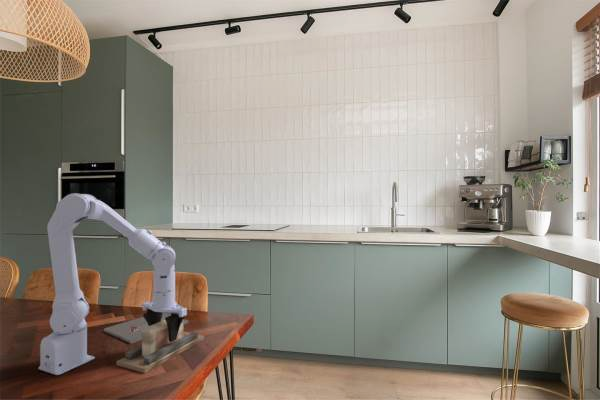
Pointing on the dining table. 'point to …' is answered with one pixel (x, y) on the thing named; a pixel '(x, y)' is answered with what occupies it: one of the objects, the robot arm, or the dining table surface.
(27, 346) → the dining table surface
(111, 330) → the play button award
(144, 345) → the cream rectangular block
